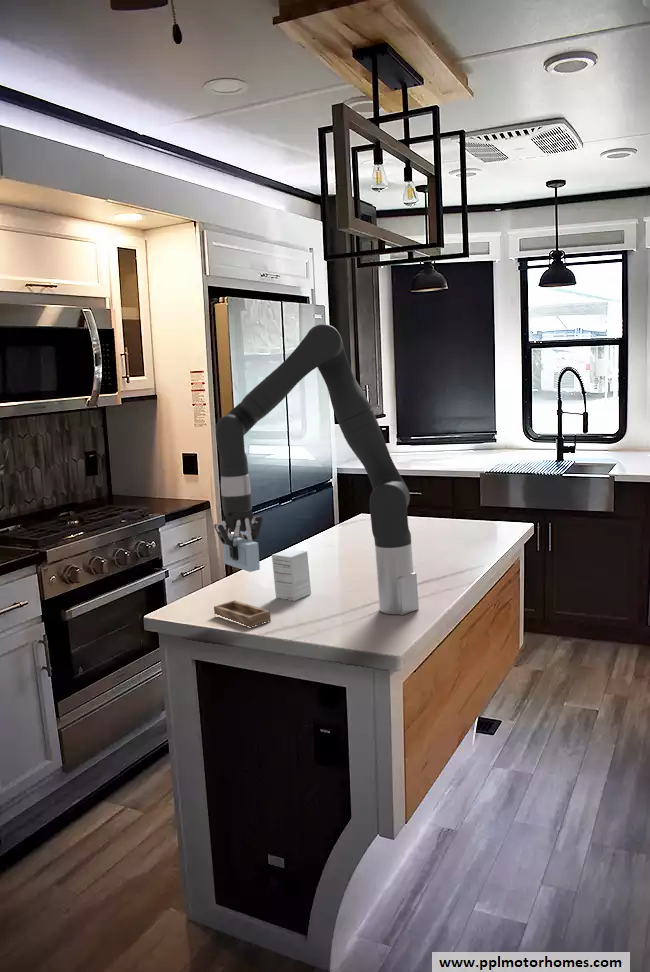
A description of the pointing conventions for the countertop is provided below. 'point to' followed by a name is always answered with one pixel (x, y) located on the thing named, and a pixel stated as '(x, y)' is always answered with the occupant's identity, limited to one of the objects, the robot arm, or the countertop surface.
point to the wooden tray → (243, 613)
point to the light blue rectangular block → (243, 555)
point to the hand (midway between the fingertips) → (241, 558)
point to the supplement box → (291, 574)
